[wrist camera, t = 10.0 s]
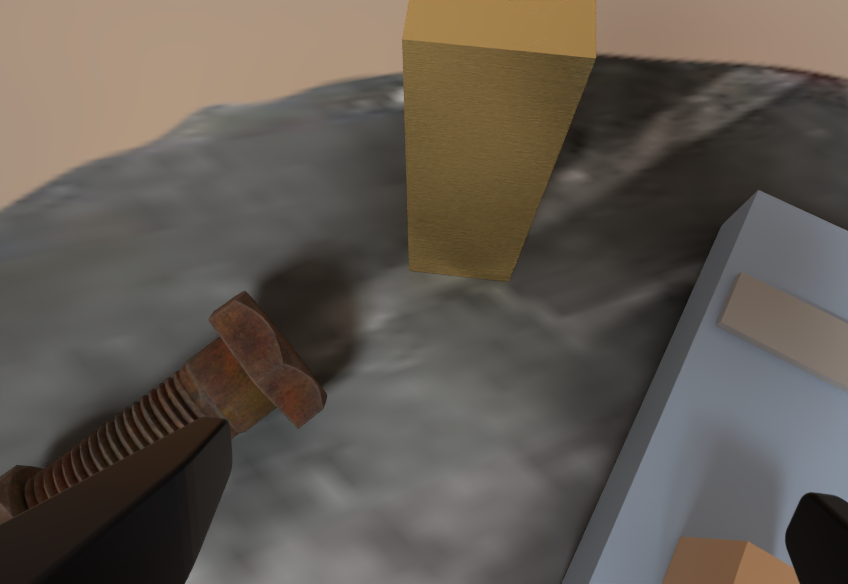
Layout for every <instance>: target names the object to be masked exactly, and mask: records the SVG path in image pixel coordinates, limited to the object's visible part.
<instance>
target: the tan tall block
mask: <svg viewBox="0 0 848 584" xmlns="http://www.w3.org/2000/svg"><path fill="white" fill-rule="evenodd" d="M402 43H403V45H402V47H403V80H404V114H405V147H406V180H407V213H408V246H409V271H417V272H426V273H435V274H444V275H453V276H462V277H471V278H480V279H489V280H498V281H507V282H509V281H510V278H511V275H512V273H513V270H514V268H515V265H516V263H517V260H518V257H519V255H520V252H521V250H522V247H523V245H524V242H525V239H526V237H527V234H528V232H529V229H530V227H531V224H532V221H533V219H534V216H535V214H536V211H537V209H538V206H539V204H540V201H541V198H542V196H543V193H544V191H545V188H546V186H547V183H548V180H549V178H550V175H551V173H552V170H553V168H554V165H555V162H556V160H557V157H558V155H559V152H560V150H561V147H562V144H563V142H564V139H565V137H566V134H567V132H568V129H569V127H570V124H571V121H572V119H573V116H574V114H575V111H576V109H577V106H578V103H579V101H580V98H581V96H582V93H583V91H584V88H585V85H586V83H587V80H588V78H589V75H590V73H591V70H592V67H593V65H594V62H595V60H596V0H409V4H408V9H407V15H406V21H405V27H404V33H403V38H402Z"/></svg>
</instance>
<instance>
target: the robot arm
mask: <svg viewBox="0 0 848 584" xmlns="http://www.w3.org/2000/svg"><path fill="white" fill-rule="evenodd" d="M231 468H232V444H231V427H230V424H229V422H228V421H227V420H226V419H221V418H213V417H201V418H199V419H197V420H195V421H193V422H191V423H189V424H187V425H186V426H184V427H182V428H180V429H178V430H176V431H174V432H172V433H171V434H169V435H167V436H165V437H163V438H161V439H159V440H157V441H156V442H154V443H152V444H150V445H148V446H146V447H144V448H142V449H141V450H139V451H137V452H135V453H133V454H131V455H129V456H127V457H126V458H124V459H122V460H120V461H118V462H116V463H114V464H112V465H111V466H109V467H107V468H105V469H103V470H101V471H99V472H97V473H95V474H94V475H92V476H90V477H88V478H86V479H84V480H82V481H80V482H79V483H77V484H75V485H73V486H71V487H69V488H67V489H65V490H64V491H62V492H60V493H58V494H56V495H54V496H52V497H50V498H49V499H47V500H45V501H43V502H41V503H39V504H37V505H35V506H34V507H32V508H30V509H28V510H26V511H24V512H22V513H20V514H19V515H17V516H15V517H13V518H11V519H9V520H7V521H5V522H4V523H2V524H0V584H185V582H186V580H187V578H188V576H189V574H190V572H191V570H192V568H193V566H194V564H195V562H196V559H197V557H198V554H199V552H200V550H201V547H202V545H203V542H204V540H205V537H206V534H207V532H208V529H209V527H210V524H211V522H212V519H213V517H214V514H215V512H216V509H217V507H218V504H219V502H220V499H221V497H222V494H223V491H224V489H225V486H226V484H227V481H228V479H229V476H230V473H231ZM785 544H786V548H787V551H788V554H789V557H790V559H791V562H792V565H793V568H794V570H795V573H796V576H797V578H798V581H799V584H848V502H847V501H845V500H843V499H842V498H840V497H838V496H835V495H831V494H823V493H815V492H809V493H806V494H804V495H803V496H802V497H801V499H800V501H799V503H798V505H797V507H796V510H795V512H794V514H793V516H792V518H791V521H790V523H789V525H788V527H787V529H786V533H785Z"/></svg>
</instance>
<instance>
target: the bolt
mask: <svg viewBox="0 0 848 584" xmlns="http://www.w3.org/2000/svg"><path fill="white" fill-rule="evenodd" d="M209 322H210V323H211V325H212V326H213V328H214V329H215V330H216V332H217V333H218V334H219V336H220V337H219V338H217V339H216V340H215V341H213V342H212V343H210V344H209V345H208V346H206V347H205V348H204V349H202V350H201V351H200V352H198V353H197V354H196V355H194V356H193V357H192V358H190V359H189V360H188V361H187V363H186V365H185V366H184V367H182V368H181V370H180V371H177V372H175V373H174V374H173V377H174V379H173V378H170V377H169V378H167V379H166V382H165V384H163V383H161V384H159V385H158V387H157V390H155V389H153V390H151V391H150V392H149V396H148V395H144V396H142V397H141V398H140V402H134V403H133V404H132V408H128V407H127V408H125V409H124V412H123V414H117V415H116V416H115V420H109V421H108V422H107V423H106V426H101V427H100V428H99V430H98V432H93V433H91V434H90V435H89V438H85V439H83V440H82V442H81V443H80V444H78V445H75V446H73V448H72V450H71V451H67V452H65V453H64V455H63V457H61V458H57V459H56V460H55V461H54V464H49V465H48V466H46V468H45V469H41V468H38V467H32V466H22V465H16V466H15V467H13V468H12V469H10V470H9V471H8V472H6V473H5V474H3V475H2V476H1V477H0V524H2V523H4V522H5V521H7V520H9V519H11V518H13V517H15V516H17V515H19V514H20V513H22V512H24V511H26V510H28V509H30V508H32V507H34V506H35V505H37V504H39V503H41V502H43V501H45V500H47V499H49V498H50V497H52V496H54V495H56V494H58V493H60V492H62V491H64V490H65V489H67V488H69V487H71V486H73V485H75V484H77V483H79V482H80V481H82V480H84V479H86V478H88V477H90V476H92V475H94V474H95V473H97V472H99V471H101V470H103V469H105V468H107V467H109V466H111V465H112V464H114V463H116V462H118V461H120V460H122V459H124V458H126V457H127V456H129V455H131V454H133V453H135V452H137V451H139V450H141V449H142V448H144V447H146V446H148V445H150V444H152V443H154V442H156V441H157V440H159V439H161V438H163V437H165V436H167V435H169V434H171V433H172V432H174V431H176V430H178V429H180V428H182V427H184V426H186V425H187V424H189V423H191V422H193V421H195V420H197V419H199V418H201V417H213V418H221V419H226V420H227V421H228V422H229V424H230V427H231V439H233V438H234V437H235V436H236V435H238V434H239V433H243V432H246V431H247V430H248V429H250V428H251V427H252V426H253V425H255V424H256V423H257V422H259V421H260V420H261V419H262V418H264V417H265V416H266V415H268V414H269V413H270V412H271V411H273V410H274V409H275V408H278V409H279V410H280V411H281V412H282V413H283V414H284V415H285V416H286V418H287V419H288V420H289V421H290V422H291V423H292V424H293V425H294V426H295V427H296V428H297V429H299V428H300V427H302V426H303V425H304V424H305V423H307V422H308V421H309V420H310V419H311V418H313V417H314V416H315V415H316V414H318V413H319V412H320V411H321V410H323V408H324V405H325V403H326V399H327V394H326V392H325V391H324V389H323V388H322V387H321V385H320V384H319V383H318V381H317V380H316V379H315V377H314V376H313V375H312V373H311V372H310V371H309V369H308V368H307V367H306V366H305V364H304V363H303V362H302V360H301V359H300V357H299V356H298V354H297V353H296V352H295V351H294V349H293V348H292V347H291V346H290V344H289V343H288V342H287V341H286V339H285V338H284V337H283V336H282V334H281V333H280V332H279V331H278V329H277V328H276V327H275V326H274V324H273V323H272V322H271V321H270V319H269V318H268V317H267V315H266V314H265V312H264V311H263V310H262V309H261V308H260V307H259V306H258V305H257V304H256V302H255V301H254V300H253V299H252V298H251V296H250V295H249V294H248V293H247V292H246V291H243V292H241V293H240V294H238V295H236V296H235V297H234V298H232V299H231V300H229V301H228V302H227V303H225V304H224V305H222V306H221V307H219V308H218V309H217V310H215V311H214V312H213V313H212V315H211V316H210V318H209Z"/></svg>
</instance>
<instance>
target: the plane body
mask: <svg viewBox="0 0 848 584" xmlns="http://www.w3.org/2000/svg"><path fill="white" fill-rule="evenodd" d="M809 492H815V493H823V494H831V495H835V496H838V497H840V498H842V499H843V500H845V501H847V502H848V231H847V230H844V229H842V228H840V227H838V226H836V225H834V224H831V223H829V222H827V221H825V220H823V219H821V218H818V217H816V216H814V215H812V214H810V213H807V212H805V211H803V210H801V209H799V208H797V207H794V206H792V205H790V204H788V203H786V202H784V201H781V200H779V199H777V198H775V197H773V196H770V195H768V194H766V193H764V192H762V191H760V190H758V191H757V192H756V193H755V194H753V195H752V196H751V197H750V198H749V199H748V200H747V201H746V202H745V203H744V204H743V205H742V206H741V207H740V208H739V209H738V210H737V211H736V212H735V213H734V214H733V215H732V216H731V217H730V218H729V219H728V220H726V221H725V222H724V223H723V224H722V226H721V228H720V230H719V232H718V235H717V237H716V239H715V241H714V244H713V246H712V248H711V250H710V253H709V255H708V257H707V259H706V261H705V264H704V266H703V268H702V270H701V273H700V275H699V277H698V279H697V282H696V284H695V286H694V288H693V291H692V293H691V295H690V297H689V299H688V302H687V304H686V306H685V308H684V311H683V313H682V315H681V317H680V320H679V322H678V324H677V326H676V329H675V331H674V333H673V335H672V338H671V340H670V342H669V344H668V346H667V349H666V351H665V353H664V355H663V358H662V360H661V362H660V364H659V367H658V369H657V371H656V373H655V376H654V378H653V380H652V382H651V384H650V387H649V389H648V391H647V393H646V396H645V398H644V400H643V402H642V405H641V407H640V409H639V411H638V414H637V416H636V418H635V420H634V423H633V425H632V427H631V429H630V431H629V434H628V436H627V438H626V440H625V443H624V445H623V447H622V449H621V452H620V454H619V456H618V458H617V461H616V463H615V465H614V467H613V469H612V472H611V474H610V476H609V478H608V481H607V483H606V485H605V487H604V490H603V492H602V494H601V496H600V499H599V501H598V503H597V505H596V507H595V510H594V512H593V514H592V516H591V519H590V521H589V523H588V525H587V528H586V530H585V532H584V534H583V537H582V539H581V541H580V543H579V546H578V548H577V550H576V552H575V554H574V557H573V559H572V561H571V563H570V566H569V568H568V570H567V572H566V575H565V577H564V579H563V581H562V584H799V581H798V578H797V576H796V573H795V570H794V568H793V565H792V562H791V559H790V557H789V554H788V551H787V548H786V544H785V533H786V529H787V527H788V525H789V523H790V521H791V518H792V516H793V514H794V512H795V510H796V507H797V505H798V503H799V501H800V499H801V497H802V496H803V495H804V494H806V493H809Z"/></svg>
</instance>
